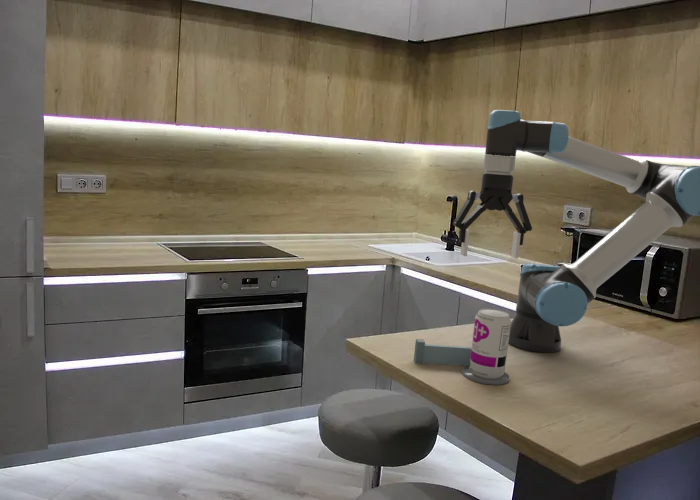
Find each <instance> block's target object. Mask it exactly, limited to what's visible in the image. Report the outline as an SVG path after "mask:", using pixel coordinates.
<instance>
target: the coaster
mask: <svg viewBox="0 0 700 500" xmlns="http://www.w3.org/2000/svg"><path fill="white" fill-rule="evenodd" d="M461 372H462V373H461V374H462V376H463V377H465V378H466V379H468V380H470V381H473V382H476V383H478V384H484V385H489V386H500V385H505V384H508V383H509V381H510V376H509V374H508V373H507V372H505V371H504V375H503V376H501V377H500V378H498V379H486V378H481V377H478V376H476V375H474V374H473V373H472V372H471V371H470V370H469V366H465V367H463V368H462V371H461Z"/></svg>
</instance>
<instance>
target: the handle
mask: <svg viewBox="0 0 700 500" xmlns="http://www.w3.org/2000/svg"><path fill="white" fill-rule="evenodd" d="M471 348H472V346H462V345H461V346H460V345H458V346H457V345H447V344H445V345H444V344H443V345H442V344H429V343H428V344H427V343H426V342H425V340H424V339H423V338H416V339H415V345H414V353H413V354H414V355H413V361H414V363H415V365H416V364H419V365H423V364H432V365H445V366H446V365H450V366H462V367H463V366H465V367H467V366H469V363H470V356H471Z"/></svg>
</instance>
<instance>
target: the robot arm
mask: <svg viewBox="0 0 700 500" xmlns="http://www.w3.org/2000/svg"><path fill="white" fill-rule="evenodd" d="M486 130H487V131H486V132H487V133H486V141H485V142H486V143H485V152H484V161H483V163H484V164H483V171H485V172H483V174H482V177H481V190H480V192H478V191H475V190H469V191H468V192H467V193H468V194H467V198H466V200H465V202H464V203H463V205H462V207H461V209H460V210H459V212H458V213H457V215H456V217H455V219H454V220H453V222H452V225H453V226H454V227H456V228H458V229H459V231H458V242H459V243H461V245H460V246H461V247H460V255H461V256H463V257H467V256H468V250H469V249H468V247H469V239H470V238H469V237H470V230H468V228H469V227H470V226H471V225H472V224H473V223H474V222H475V221H476V220H477V219H478V218H479V217H480V215H482V214H483V213H484V212H485V211H487V210H488V211H499V212H501V211H503V212H504V214H505V215H506V216H507V218H508V219H509V221H510V222H511V223H512V225H513V226H514V228H515V230H516V231H513V237H512V245H511V253H510V257H511V258H513V259H517V260H518V259H519V251H520V246H523V244H524V238H525V234H526V233H527V232H531V231H532V230H533V226H532V223H531V221H530V218H529V215H528V212H527V210H526V207H525V204H524V195H523V193H518V192H517V193H515V194H512V190H513V182H514V176H513V175H512V174H514V172H515V165H516V156H517V151H519V152H527V153H528V154H529V153H530V154H532V155H535V156H538V157H541V158H544V159H546V160H549V161H553V162H555V163H558V164H561V165H563V166H565V167H566V166H567V167H568V168H572V169H574V170H577V171H580V172H582V173H585V174H588V175H591V176H594V177H597V178H599V179H602V180H604V181H607V182H611V183H613V184H616V185H619V186H621V187H624V188H625V189H626V191H627V192H628V193H629V194H632V195H635V196H637V197H640V198H642V199H644V200H645V203H643V204H641V205H640V206H639V208H637V209H636V210H635V211H633V213H631V214H630V215H629V216H628V217H627V218H625V219H624V220H623V221H622V222H620V223H619V224H618V225H617V226H616V227H614V228H613V229H612V230H611V231H610V232H608V234H606V235H605V236H603V238H602V239H600V240H599V241H598V242H596V244H594V245H593V246H592V247H591V248H589V250H587V251H586V252H585V253H584V254H582V255H581V256H580V257H579V258H578V259H577V260H575V261H574V262H573V263H563V264H561V265H559V266H558V265H550V264H543V263H533V262H531V263H524V264H523V265H522V267H521V272H520V273H519V276H520V277H519V278H520V279H519V284H518V285H519V286H518V294H517V299H516V300H517V301H516V305H515V306H516V308H515V314H514V316H513V318H512V320H511V328H510V335H509V342H508V345H509V344H510V345H511V346H513V347H516V348H520V349H521V350H522V349H523V350H527V351H530V352H531V351H532V352H536V353H555V352H558V351H560V350H561V346H562V337H561V332H560V327H569V326H572V325H574V324H576V323H578V322H579V321H580V320H581V319H582V318H584V316H585V314H586V313H587V307H588V305H589V303H591V302H592V301H593V300H595V298H596V297H597V295H596V294H597V289H598V288H599V287H600V286H601V285H603V284H604V283H605V282H606V281H608V280H609V279H610V278H611V277H612V276H614V275H615V274H616V273H617V272H619V271H620V270H621V269H622V268H624V266H626V265H628V263H629V262H630V261H632V260H633V259H634V258H635V257H637V255H639V254H640V253H641V252H642V251H644V250H645V249H646V248H647V247H649V246H650V245H651V244H653V243H654V242H655V241H656V240H657V239H658V238H660V236H662V235H663V234H664V233H666V232H667V231H668V230H669V229H670V228H681V227H682V226H684V225H685V224H686V223H688V222H689V221H690V220H691V219H692V218H694V217H700V165H690V166H688V165H679V164H667V163H660V162H653V161H651V160H648V159H645V158H641V159H639V160H636V159H633V158H630V157H627V156H625V155H623V154H619V153H617V152H614V151H611V150H608V149H605V148H603V147H600V146H597V145H595V144H593V143H592V144H591V143H589V142H587V141H583V140H581V139H578V138H575V137H572V136H570V135H569V134H570V133H569V128H568V125H567V124H566V123H564V122H563V123H562V122H556V121H540V120H525V119H522V118H521V112H519V110H518V111H517V110H511V109H509V110H508V109H507V110H505V109H494V110H492V111H491V112H490V113H489V117H488V123H487V127H486ZM478 198H479V200H480V202H479V204H477V206H476V208H475V209H473V211H472V212H471V213H470V214H469V215H468V213H469V211H470V210H471V208H472V206H473V205H474V203H475V201H477V200H478ZM511 201H513V203H514V204H515V206H516V210H517V212H518V215H519V218H518V217H517V215H516V214H515V213H514V211H513V209H512V207H511V206H510V203H511ZM467 215H468V216H467ZM519 219H520V220H519Z"/></svg>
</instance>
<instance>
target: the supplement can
mask: <svg viewBox="0 0 700 500" xmlns="http://www.w3.org/2000/svg"><path fill="white" fill-rule="evenodd" d="M474 317H475V319H474V324H473V325H474V326H473V332H472V333H473V334H472V341H471V347H472V348H471V356H470V363H469V370H470V371H471V372H472V373H473V374H474V375H476V376H478V377H481V378H486V379H498V378H500V377H501V376H503V375H504V372H505V371H506V370H505V369H506V364H507V363H506V362H507V356H508V350H509V349H508V348H509V343H508V342H509V335H510V328H511V322H512V320H511V317H510V314H509V313H508V312H506V311H504V310H500V309H495V308H481V309H478V312H477V313H476V314H475V316H474Z"/></svg>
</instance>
